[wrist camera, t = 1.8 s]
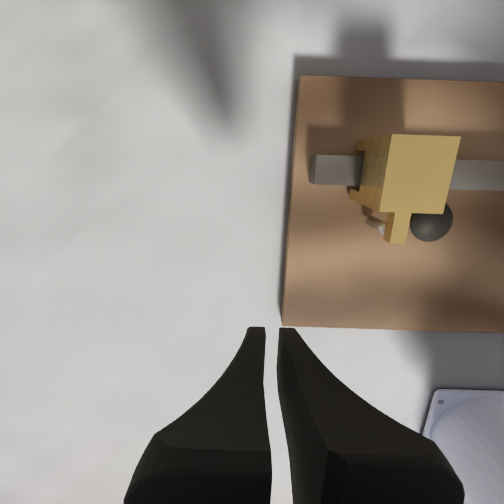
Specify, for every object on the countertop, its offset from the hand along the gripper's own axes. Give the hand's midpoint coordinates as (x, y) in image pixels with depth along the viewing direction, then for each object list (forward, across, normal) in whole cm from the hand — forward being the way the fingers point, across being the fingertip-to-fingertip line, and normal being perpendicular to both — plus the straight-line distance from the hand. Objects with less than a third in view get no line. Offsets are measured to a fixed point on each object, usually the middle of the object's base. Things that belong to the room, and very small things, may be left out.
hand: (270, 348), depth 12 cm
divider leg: (+8, -6, -6) cm, 12 cm away
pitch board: (+9, -12, -4) cm, 16 cm away
